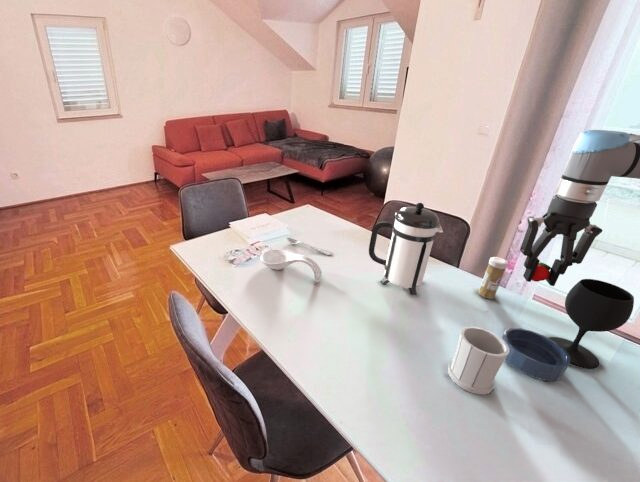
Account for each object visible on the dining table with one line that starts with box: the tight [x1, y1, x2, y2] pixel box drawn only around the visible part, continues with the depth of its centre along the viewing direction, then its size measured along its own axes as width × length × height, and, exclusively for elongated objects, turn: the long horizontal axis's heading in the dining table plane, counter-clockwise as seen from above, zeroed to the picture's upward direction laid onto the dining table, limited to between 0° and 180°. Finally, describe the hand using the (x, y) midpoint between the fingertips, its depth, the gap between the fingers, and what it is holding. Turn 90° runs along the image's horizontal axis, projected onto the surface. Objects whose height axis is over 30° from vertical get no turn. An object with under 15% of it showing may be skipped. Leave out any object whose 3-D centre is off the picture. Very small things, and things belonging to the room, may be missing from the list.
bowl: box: [501, 327, 571, 381], centre depth 78 cm, size 12×12×5 cm
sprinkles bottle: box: [477, 256, 509, 300], centre depth 101 cm, size 5×5×13 cm
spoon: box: [285, 237, 332, 256], centre depth 133 cm, size 4×21×2 cm, turn 54°
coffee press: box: [368, 202, 444, 296], centre depth 104 cm, size 17×16×30 cm
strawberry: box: [531, 262, 552, 283], centre depth 83 cm, size 4×4×5 cm
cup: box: [447, 326, 509, 395], centre depth 72 cm, size 10×9×12 cm
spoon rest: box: [259, 249, 323, 283], centre depth 116 cm, size 24×12×7 cm, turn 56°
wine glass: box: [548, 278, 635, 370], centre depth 77 cm, size 10×10×20 cm
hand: (538, 280), depth 83 cm, fingers closed on strawberry, 4 cm apart
